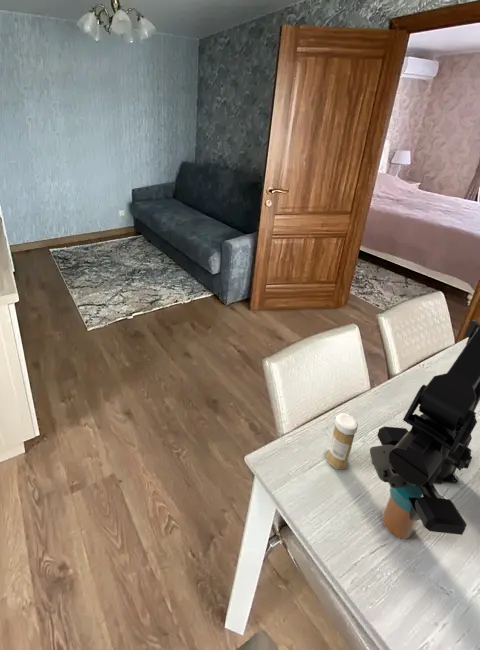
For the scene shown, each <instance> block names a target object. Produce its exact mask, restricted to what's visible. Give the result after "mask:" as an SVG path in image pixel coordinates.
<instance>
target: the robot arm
mask: <svg viewBox="0 0 480 650" xmlns="http://www.w3.org/2000/svg"><path fill="white" fill-rule="evenodd" d="M463 336H465V337H466V338H468V339H467V341H466V344H465V346H464V347H463V349H462V351H461V352H460V354H459V355H458V357H457V358H456V359H455V361H454V362H453V364H452V365H451V367H450V368H449V369H448V371H447V372H446V373H441V374H438V375H434V376H433V377H432V378H431V379H430V381H429V382H428V383H427V384H422V385H421V387H420V388H419V390H418V391H417V393H416V394H415V396H414V398H413V400H412V402H411V404H410V406H409V407H408V409H407V411H406V413H405V415H404V417H403V419H402V421H403V422H405V423H406V424H408V425H410V426H411V429H410V430H408V429H407V428H404V427H397V426H396V427H394V426H381V427H380V428H379V429H378V432H377V438H378V440H379V442H380V443H381V445H376V446H371V447H370V448H369V454H370V459H371V464H372V465H373V467H374V470H375V472H376V474H377V476H378V478H379V480H381V482H383V483H388V484H389V488H390V487H392V488H400V487H406V486H407V485H408V483H411V484H413V485H414V486H419V487H420V489H421V491H422V493H423V494H422V496H421V498H412V497H408V498H409V500H410V502H411V504H412V509H411V512H410V520H412V521H417V522H418V521H420V522H421V523H422V525H423V528H425V529H426V530H427V531H429V532H433V533H441V534H449V535H461V536H462V535H463V534H464V532H465V530H466V528H467V526H468V525H467V523H466V521H465V519H464V517H463V516H462V515H461V512H460V511H459V510H458V508H457V506H456V505H455V503H454V501H452V500H451V499H450V498H445V496H443V495H441V494H440V493H439V491H438V489H437V488H436V486H435V485H434V484H437V485H442V484H444V483H445V484H458V482H459V480H458V479H457V477H456V476H455V475H454V474H455V473H456V470H458V471H462V470H464V469H468V468H469V467H470V464H471V463H472V460H473V457H472V449H471V448H469V445H470V443H471V441H472V439H473V436H472V433H473V431H474V429H475V427H476V425H477V423H478V420H477V418H476V415H477V412H475V411H476V409H477V407H478V404H479V402H480V321H477V320H475V319H471V320H470V322H469V324H468V325H467V328H466V330H465V332H464V334H463ZM417 408H418V412H419V413H422V414H421V415H418V414H417V413H415V412H416V410H417Z"/></svg>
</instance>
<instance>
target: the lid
mask: <svg viewBox="0 0 480 650" xmlns="http://www.w3.org/2000/svg"><path fill="white" fill-rule="evenodd" d="M390 494H391V497H392V499H393V500H394V501H395V503H396V504H397V505H398V506H399V507H400V508H402V509H403V510H405V511H406V512H408V513H410V512H411V509H412V504H411V502H410V500H409V498H408V497H412V498H421V496H422V494H423V493H422V491H421V489H420V487H419V486H414V485H413V484H411V483H408V485H407V486H406V487H400V488H392V487H390V486H389V495H390Z"/></svg>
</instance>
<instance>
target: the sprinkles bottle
mask: <svg viewBox="0 0 480 650" xmlns="http://www.w3.org/2000/svg"><path fill="white" fill-rule="evenodd" d="M358 424H359V423H358V421H357V419H356V418H355V417H354V416H352V415H351V414H348V413H344V412H342V413H338V414H337V415H336V417H335V421H334V428H333V431H332V435H331V438H330V439H331V440H330V442H329V449H328V452H327V454H326V460H327V462H328V463H329V464H330V466H332V467H333V468H335V469H337V470H344V469H346V468H347V465H348V460H349V458H350V454H351V450H352V446H353V442H354V438H355V435H356V433H357V431H358V426H359V425H358Z"/></svg>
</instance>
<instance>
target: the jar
mask: <svg viewBox="0 0 480 650" xmlns="http://www.w3.org/2000/svg"><path fill="white" fill-rule="evenodd" d="M381 518H382V522H383V525H384V526H385V528H386V530H387V531H388V532H389V533H391V535H393V536H394V537H396V538H399V539H403V540H406V539H409V538H411V536H412V533H413V532H414V529H415V526H416V524H417V522H418V520H417V521H412V520H410V513H408V512H406V511H405V510H403V509H402V508H400V507H399V506H398V505H397V504H396V503H395V501H394V500H393V499H392V497H391V494H390V493H389V497H388V499H387V502H386V505H385V507H384V509H383V512H382V517H381Z"/></svg>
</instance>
